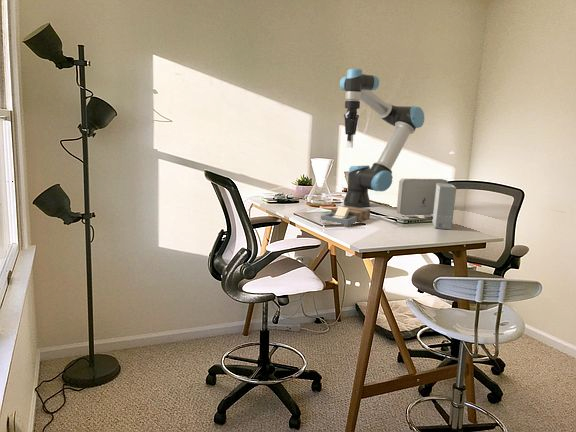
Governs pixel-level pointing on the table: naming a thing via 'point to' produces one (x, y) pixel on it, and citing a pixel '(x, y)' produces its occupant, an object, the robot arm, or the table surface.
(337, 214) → the tile
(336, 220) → the box
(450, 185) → the hard drive box
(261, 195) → the table surface
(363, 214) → the bench plate
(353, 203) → the robot arm
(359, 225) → the table surface
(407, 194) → the network device
